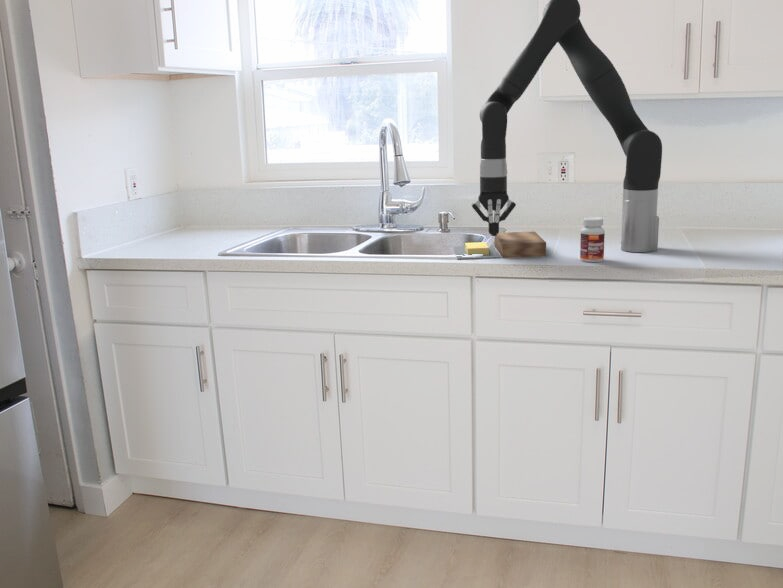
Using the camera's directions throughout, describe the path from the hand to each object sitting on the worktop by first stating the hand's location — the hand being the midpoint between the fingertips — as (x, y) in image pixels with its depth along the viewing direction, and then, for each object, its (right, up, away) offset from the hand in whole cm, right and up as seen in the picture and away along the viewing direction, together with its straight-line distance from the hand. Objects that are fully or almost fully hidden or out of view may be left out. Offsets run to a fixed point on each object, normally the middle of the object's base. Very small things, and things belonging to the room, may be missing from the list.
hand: (493, 235), depth 214 cm
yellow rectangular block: (-5, -3, +1) cm, 6 cm away
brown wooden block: (+8, -4, +2) cm, 9 cm away
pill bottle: (+24, -8, -14) cm, 29 cm away
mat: (-5, -5, +2) cm, 7 cm away
